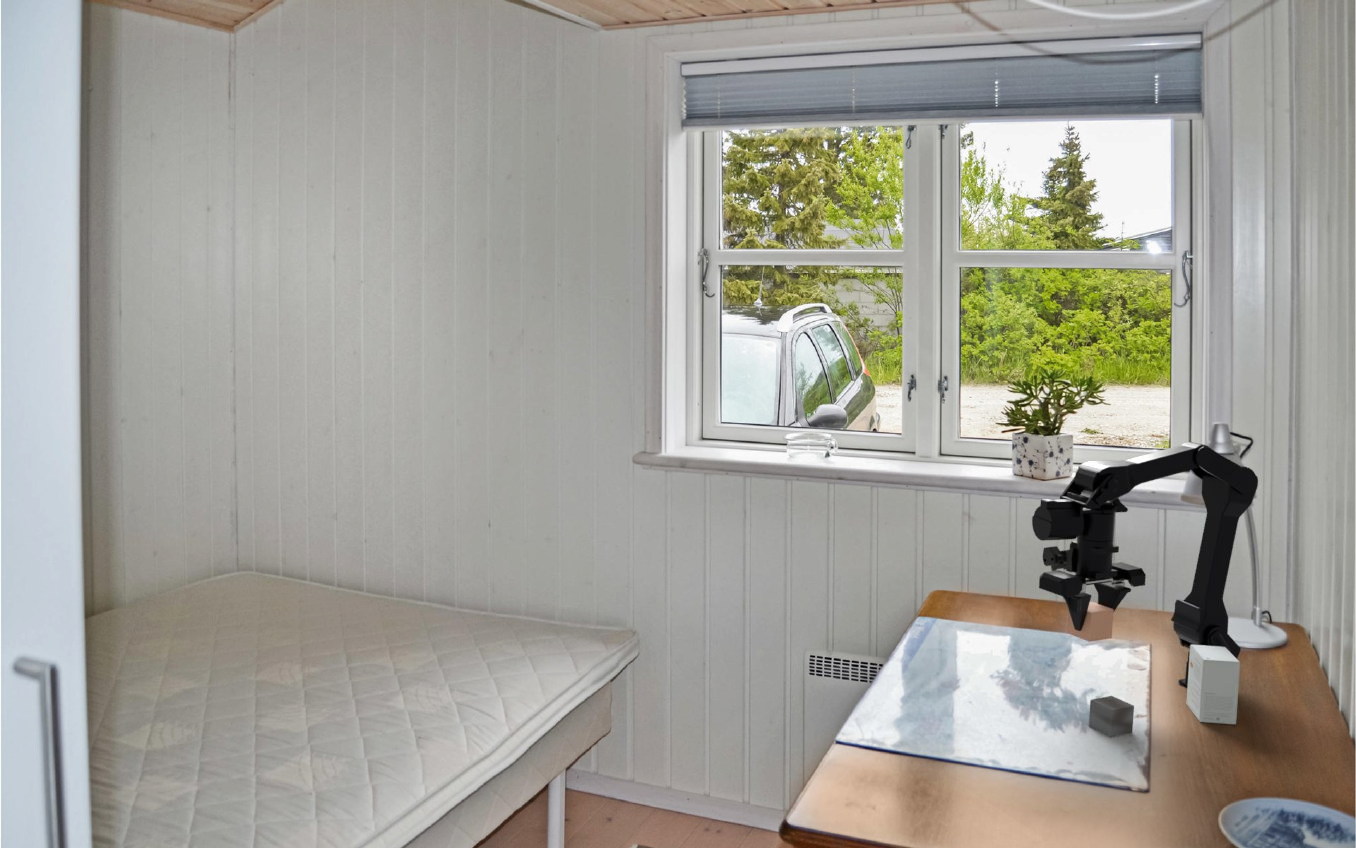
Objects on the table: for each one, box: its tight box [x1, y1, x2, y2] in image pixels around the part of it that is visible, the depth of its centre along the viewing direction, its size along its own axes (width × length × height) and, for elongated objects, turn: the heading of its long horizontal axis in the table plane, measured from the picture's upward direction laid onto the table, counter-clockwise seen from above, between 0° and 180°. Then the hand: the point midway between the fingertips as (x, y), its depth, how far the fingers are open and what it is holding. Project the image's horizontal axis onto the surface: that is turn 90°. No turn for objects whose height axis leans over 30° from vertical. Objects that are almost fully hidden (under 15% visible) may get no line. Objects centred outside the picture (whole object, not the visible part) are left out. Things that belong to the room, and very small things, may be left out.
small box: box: [1185, 645, 1241, 725], centre depth 173 cm, size 8×6×10 cm
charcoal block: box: [1088, 695, 1135, 738], centre depth 167 cm, size 4×4×4 cm
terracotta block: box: [1066, 600, 1115, 643], centre depth 180 cm, size 5×5×5 cm
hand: (1089, 628), depth 180 cm, fingers closed on terracotta block, 5 cm apart
